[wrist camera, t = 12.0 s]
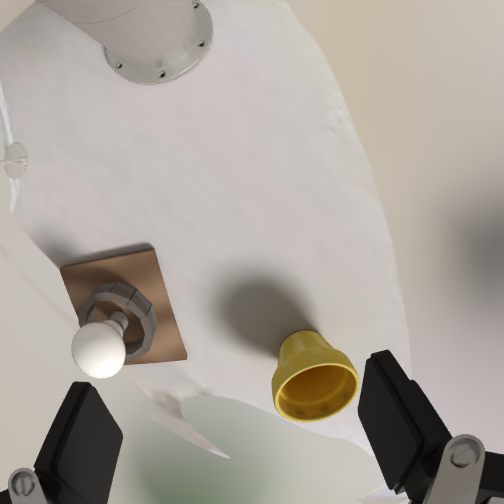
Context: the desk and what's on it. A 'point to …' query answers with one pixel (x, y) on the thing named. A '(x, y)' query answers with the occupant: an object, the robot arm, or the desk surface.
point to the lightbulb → (101, 346)
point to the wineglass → (15, 160)
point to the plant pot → (312, 379)
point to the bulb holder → (128, 303)
